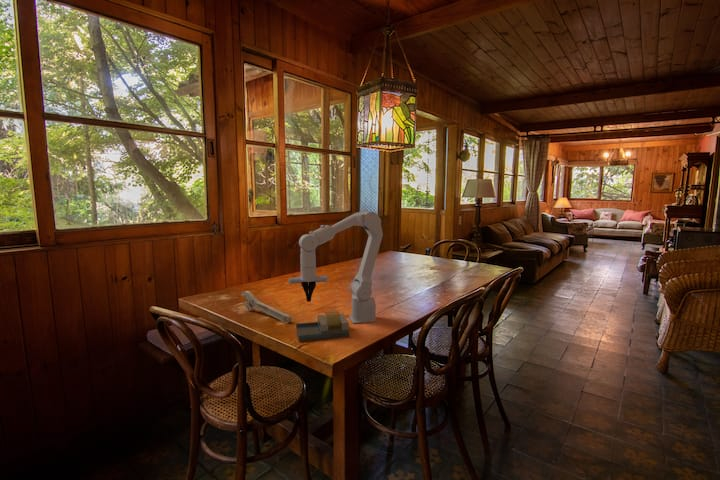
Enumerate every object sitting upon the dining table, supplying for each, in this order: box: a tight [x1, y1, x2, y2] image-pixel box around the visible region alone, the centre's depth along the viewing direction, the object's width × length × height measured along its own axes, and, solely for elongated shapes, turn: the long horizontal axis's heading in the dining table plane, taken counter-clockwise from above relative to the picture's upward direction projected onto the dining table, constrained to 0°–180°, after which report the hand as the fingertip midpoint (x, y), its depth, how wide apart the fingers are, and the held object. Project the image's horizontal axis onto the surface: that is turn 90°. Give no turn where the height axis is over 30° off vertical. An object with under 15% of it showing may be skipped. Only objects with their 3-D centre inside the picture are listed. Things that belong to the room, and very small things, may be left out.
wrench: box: [240, 290, 292, 324], centre depth 154 cm, size 8×2×30 cm
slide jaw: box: [317, 314, 328, 333], centre depth 136 cm, size 2×10×4 cm, turn 13°
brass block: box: [324, 310, 341, 331], centre depth 137 cm, size 5×4×6 cm
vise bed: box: [295, 313, 350, 343], centre depth 136 cm, size 18×12×5 cm, turn 103°
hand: (308, 300), depth 142 cm, fingers closed
